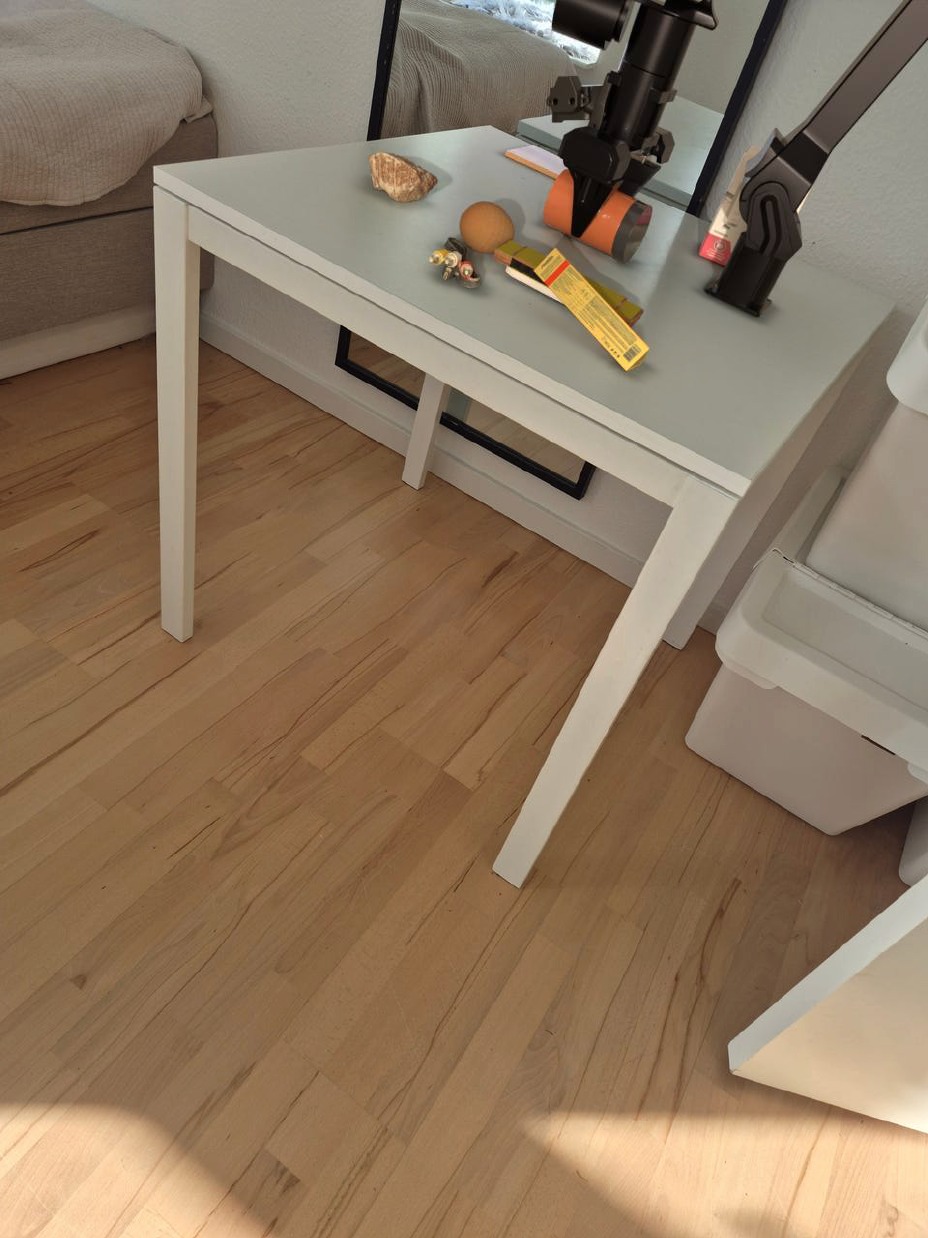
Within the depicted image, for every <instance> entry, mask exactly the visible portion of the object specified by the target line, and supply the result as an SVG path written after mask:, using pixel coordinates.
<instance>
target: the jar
mask: <svg viewBox="0 0 928 1238" xmlns="http://www.w3.org/2000/svg"><path fill="white" fill-rule="evenodd" d="M573 192H574V181H573V178H572V176H571V174H570V172H569V170H568V168H566V169H564V170H563V171H562V172H561V173H560V174H559V176H558V177H557V179H555V180H554V181H553V183H552V186H551V188H550V190H549V192H548V194H547V197H546V201H545V203H544V206H543V207H544V208H543V213H542V221H543V224H544V225H545V226H547V227H549V228H551V229H554V230H556V231H558V232H560V233H562V234H564V235H566V236H568V237H570V238H572V239H574V240H576V241H578V242H581V243H583V244H584V245H587V246H588V247H591V248H593V249H595V250H597V251H599V252H601V253H603V254H605V255H607V256H609V257H611V258H612V259H613V258H614V259H616V260H617V261H620V262H622V263H624V264H625V263H626V264H627V263H628V262H629V261H630V260H631V259H632V258H633V257H634V255H636V252H637V251H638V249H639V247H640V246H641V244H642V243H643V240H644V238H645V236H646V233H647V231H648V228H649V226H650V223H651V220H652V216H653V206H652V205H651V204H649V203H647V202H644V201H643V200H640V199H638V198H636V197H632V196H629V195H627V194H625V193H623V192H621V191H619V190H616V192H615V193H614V194H613V196H612V197H611V198H610V199H609V201H608V202H607V203H606V205H605V206H604V208H603V209H602V210H601V212H600V213H599V214H598V216H597V217H596V218H595V220H594V221H593V222H592V224H591V225H590V226H589V228H588V229H587V230H586V231H585V233H584V234H583V235H582V236H581V237H580V238H576V237H574V236H572V235H571V222H572V208H573Z"/></svg>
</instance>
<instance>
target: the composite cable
mask: <svg viewBox="0 0 928 1238" xmlns="http://www.w3.org/2000/svg"><path fill="white" fill-rule="evenodd" d="M469 253H470V250H469V248H468V246H467V244H466V243H463V242H462V241H460V240H459V239H457V238H456V237H453V236H452V237H451V236H449V237H447V239H446V242H445V243H444V248H442V249H438V250H434V251H433V252H432V253H431V255H430V257H429V258H428V261H429V263H430V264H432V263H433V265H435V266H439V265H442V264H445V265H444V267H443V268H442V272H441V275H442V277H443V280H451V279H453V278H454V276H455V277H456V281H457V282H458V284H459V285H460V286H462V287H464V288H467V289H477V288H479V287H480V285H481V274H480V272H479V271H478V270H477V269H475V267H474V266H473V265H472V263H471V262H470V261H469V260H468V256H469Z"/></svg>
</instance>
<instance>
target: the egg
mask: <svg viewBox="0 0 928 1238" xmlns="http://www.w3.org/2000/svg"><path fill="white" fill-rule="evenodd" d="M459 232H460V236H461V238H462V240H463V242H464V244H465V245H466V246H467V247H469V248H470V249H471V250H473V251H475V252H477V253H481V254H494V251H495V248H497V247H498V246H500V245H501V244H503V243H505V242H506V241H508V240H511V241H514V239H515V235H516V229H515V224H514V223H513V220H512V218H511V216H510V215H509V214H508V212H506V211H505V209H504V208H503V207H501V206H500V205H498V204H497V203H494V202H492V201H485V200H480V201H477V202H474V203H472V204H470V205H469V206H468V207H466V209H465V210H464V211H463V212H462V213H461V216H460V219H459Z"/></svg>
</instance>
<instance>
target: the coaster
mask: <svg viewBox="0 0 928 1238" xmlns="http://www.w3.org/2000/svg"><path fill="white" fill-rule="evenodd" d="M504 156H505V157H508V158H509V159H511V160H514V161H516V162H518V163H520V164H523V165H524V166H527V167H530V168H531V169H533V170H535V171H537V172H540V173H542V174H544V175H546V176H547V177H550V178H552V179H555V180H556V179H557V177H558V176H559V174H560V173H561V172H562V171H563V170H564V169H566V168H567V167H565V166H564V164H563V159H561V158H559V157H558V155H557V154H554V153H552V152H549V151H547V150H545V149H543V148H541V147H539V146H536V145H535V144H532V145H526V146H522V147H521V146H520V147H517V148H512V149H507V150H505V153H504Z"/></svg>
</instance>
